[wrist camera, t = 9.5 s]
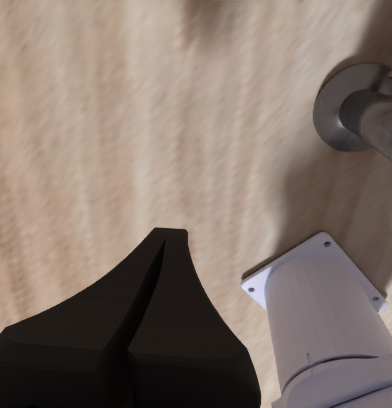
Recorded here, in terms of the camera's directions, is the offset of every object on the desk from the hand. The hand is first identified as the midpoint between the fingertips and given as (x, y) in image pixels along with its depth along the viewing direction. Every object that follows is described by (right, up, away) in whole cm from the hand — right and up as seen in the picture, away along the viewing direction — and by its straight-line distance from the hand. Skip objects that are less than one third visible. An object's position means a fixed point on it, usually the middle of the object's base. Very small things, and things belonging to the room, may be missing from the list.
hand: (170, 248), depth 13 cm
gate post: (+11, +8, +6) cm, 14 cm away
